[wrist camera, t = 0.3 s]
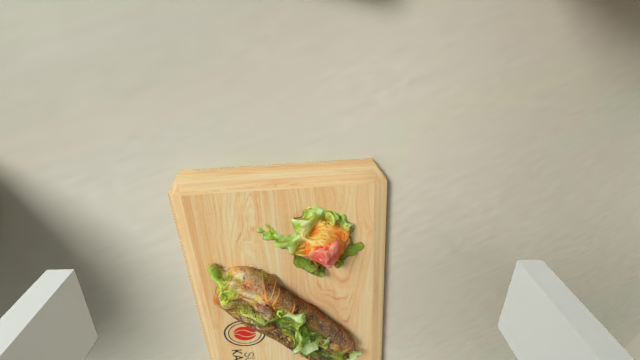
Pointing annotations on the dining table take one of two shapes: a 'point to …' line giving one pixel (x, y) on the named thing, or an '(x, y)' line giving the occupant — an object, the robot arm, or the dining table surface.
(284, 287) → the cutting board
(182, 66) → the dining table surface
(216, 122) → the dining table surface
